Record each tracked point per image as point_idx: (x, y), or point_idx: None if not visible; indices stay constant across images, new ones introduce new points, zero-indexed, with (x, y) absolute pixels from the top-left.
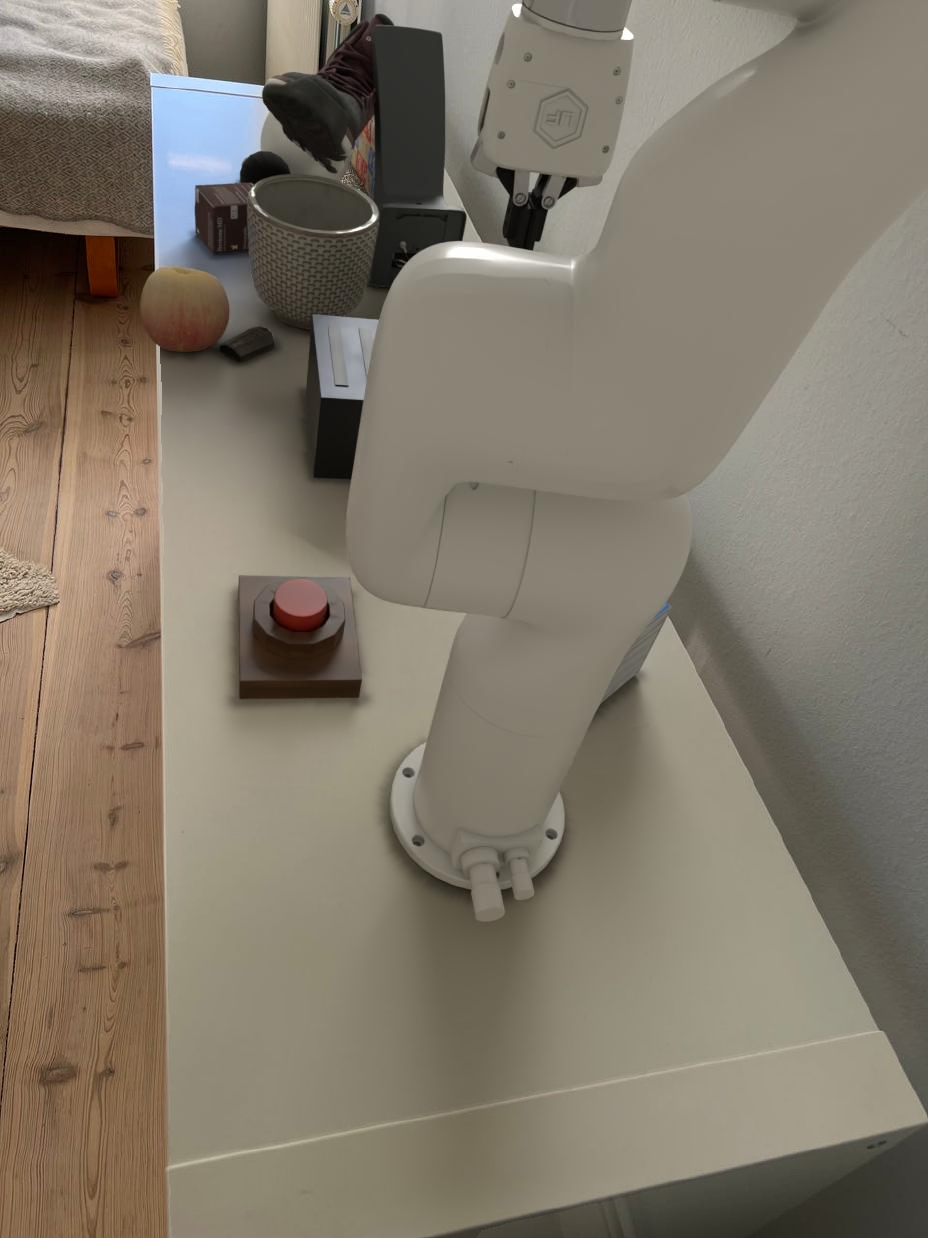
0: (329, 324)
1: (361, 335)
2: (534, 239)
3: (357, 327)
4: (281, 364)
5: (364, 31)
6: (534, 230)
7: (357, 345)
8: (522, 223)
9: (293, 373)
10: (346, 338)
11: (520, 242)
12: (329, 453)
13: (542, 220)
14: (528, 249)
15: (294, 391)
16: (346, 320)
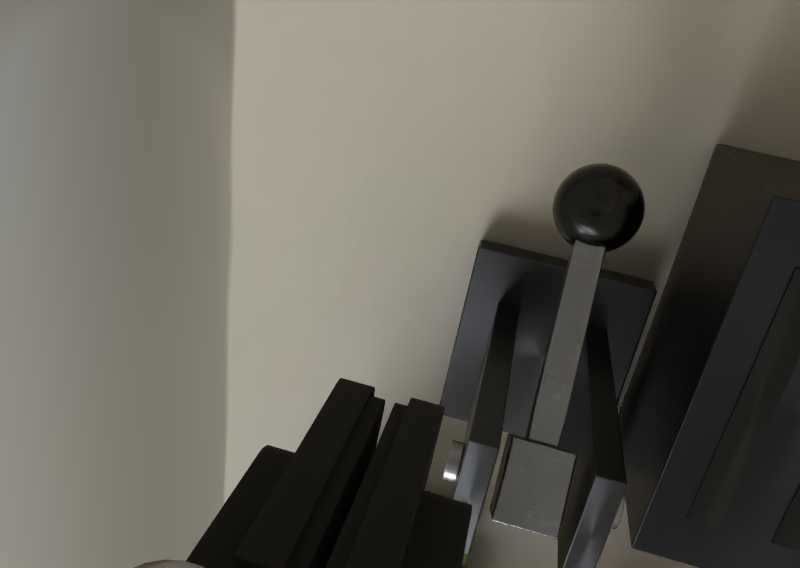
0: (795, 555)
1: (730, 496)
2: (318, 426)
3: (721, 530)
4: None
5: None
6: (315, 462)
7: (763, 460)
8: (397, 514)
9: None
10: (779, 493)
11: (407, 434)
12: None
13: (233, 525)
14: (360, 396)
15: None
16: (737, 562)
